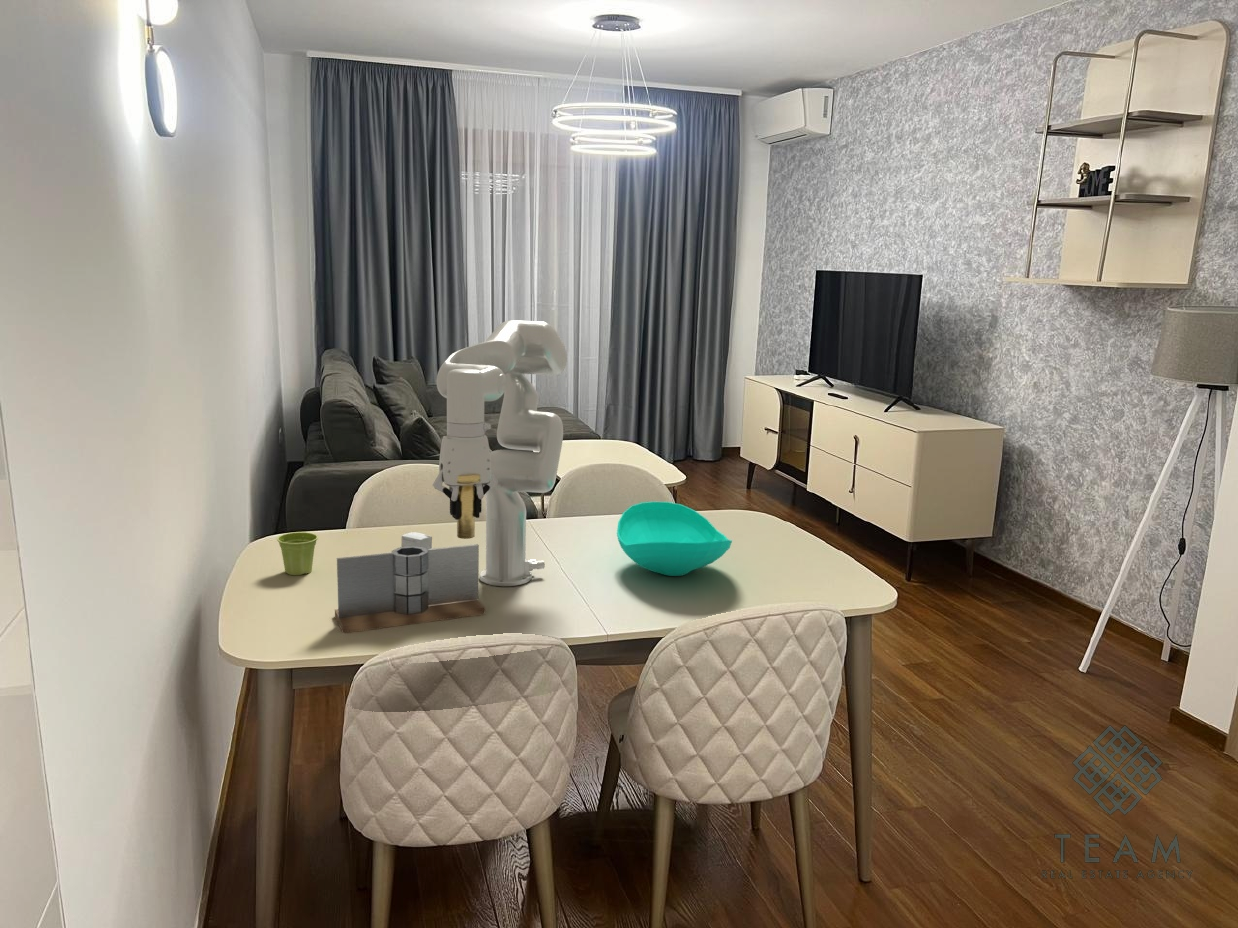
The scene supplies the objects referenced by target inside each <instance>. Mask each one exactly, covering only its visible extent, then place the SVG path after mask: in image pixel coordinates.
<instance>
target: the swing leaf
mask: <svg viewBox="0 0 1238 928" xmlns="http://www.w3.org/2000/svg"><path fill="white" fill-rule="evenodd" d="M479 546H480V545H479V544H478V543H477V544H468V545H466V544H465V545H455V546H445V547H437V548H432V549H428V570H427V571H425V572H424V573H420V574H415V575H402V574H396V573H394V593H396V594H402V595H415V594H421V593H424V592H425V591H427V590H428V591H429V605H435V604H443V603H451V602H459V601H467V600H475V599H477V600H479V595H480V594H479V591H480V590H479V588H480V587H479V581H480V578H479V574H480V573H479V569H480V568H479V567H480V566H479V563H480V561H479V558H480V556H479V554H480V553H479Z"/></svg>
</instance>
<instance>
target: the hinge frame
mask: <svg viewBox="0 0 1238 928" xmlns="http://www.w3.org/2000/svg"><path fill="white" fill-rule="evenodd" d="M427 570H428V551H427V550H426V548H422V547H415V546H413V547H412V546H409V547H397V548H395V549H393V550H391V552H385V553H376V554H366V555H365V554H364V555H356V556H355V555H354V556H344V557H337V558H336V577H337V579H336V580H337V583H336V584H337V609H338V617H339V618H346V617H354V616H362V615H370V614H377V613H385V612H393V611H394V612H395V613H398V614H404V615H413V614H421V613H423V612H425V611H426V610H428V609H429V591H428V590H427V591H425V592H424V593H421V594H415V595H402V594H396V593H394V573H396V574H402V575H415V574H420V573H424V572H425V571H427Z"/></svg>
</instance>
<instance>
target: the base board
mask: <svg viewBox="0 0 1238 928" xmlns="http://www.w3.org/2000/svg"><path fill="white" fill-rule="evenodd" d="M481 615H486V607H485V606H484V605H483V604H482V603H481V601H479V599H475V600H467V601H459V602H451V603H443V604H435V605H429V609H428V610H426V611H425V612H423V613H421V614H413V615H404V614H398V613H395V612H394V611H393V612H385V613H377V614H370V615H362V616H354V617H346V618H339V617H338V608H336V609H334V617H335V620H336V621H337V623H338V625H339V627H340V629H341V631H342V633H343V634H346V633H353V632H363V631H367V630H368V631H369V630H375V629H376V630H377V629H382V628H391V627H392V628H393V627H399V626H406V625H407V626H408V625H414V624H419V623H420V624H422V623H428V622H435V621H436V622H437V621H442V620H451V619H461V618H465V617H473V616H481Z"/></svg>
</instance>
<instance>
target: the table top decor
mask: <svg viewBox="0 0 1238 928" xmlns="http://www.w3.org/2000/svg"><path fill="white" fill-rule="evenodd" d="M616 529H617V530H616V536H617V540H618V543H619V546H620V548H621V550H622V551H623V553H625V555H626V556H627V557H628V558H629V559H631V560H632V562H634V563H636V565H637V566H640V567H641V568H644V569H646V570H648V571H650V572H651V571H652V572H653V573H657V574H660V575H663V576H668V577H681V576H685V575H687V574H689V573H690V572H692V571H694V570H699V569H701V568H704V567H706V566H708V565H710V564H713V563H714V562H716V561H717V560H719V559H720V558H721V557H723V556H724V554H725V553H727V552H728V551H729V549H730V548H731V545H732V543H733V540H732V539H729V538H727V536H725V534H723V533H722V532H720V531H719V530H718V529H717V528H716V527H715V526H713V524H712V523H711V522H710V521H709V520H708V519H707V518H706V517H704V516H703V515H702V514H700V513H699V512H698V511H697V510H694V509H692V508H690V507H688V506H686V505H683V504H680V503H677V502H676V503H674V502H670V501H646V502H645V501H644V502H640V503H639V502H638V503H636V504H632V505H631V506H629V507H628V508H627V509H626V510H625V511H623V512H622V515H621V516H620V518H619V520H618V522H617V528H616Z"/></svg>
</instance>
